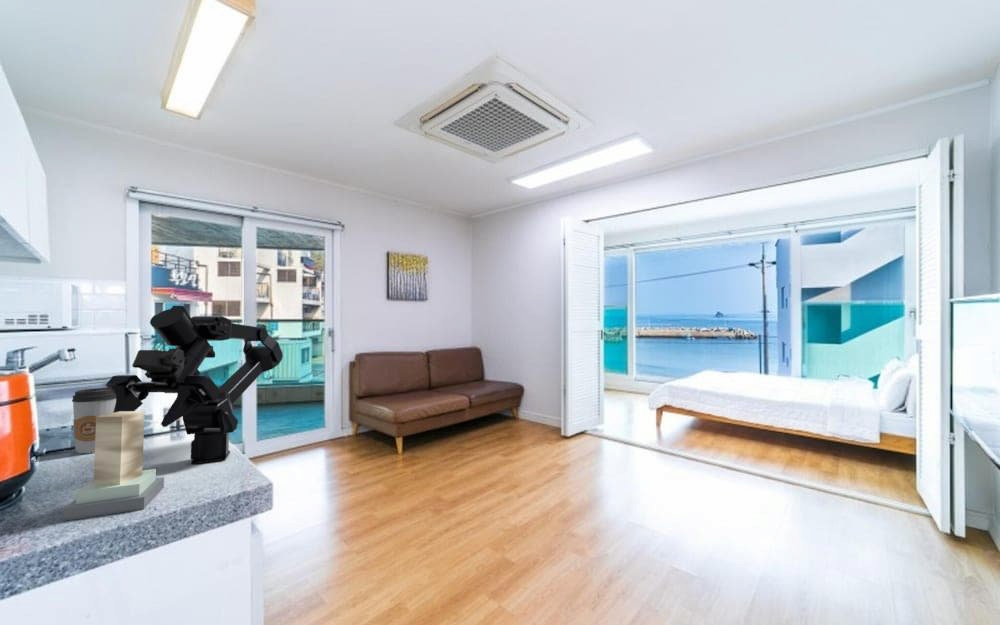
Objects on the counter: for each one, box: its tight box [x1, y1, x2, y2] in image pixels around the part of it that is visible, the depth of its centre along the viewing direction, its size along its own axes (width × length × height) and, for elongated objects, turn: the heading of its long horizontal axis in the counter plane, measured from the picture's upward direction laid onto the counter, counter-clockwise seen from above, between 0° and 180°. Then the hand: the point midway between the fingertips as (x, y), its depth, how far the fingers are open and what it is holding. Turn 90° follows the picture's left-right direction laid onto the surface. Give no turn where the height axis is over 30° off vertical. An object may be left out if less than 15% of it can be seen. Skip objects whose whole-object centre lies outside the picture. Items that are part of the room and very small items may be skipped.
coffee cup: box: [71, 387, 116, 454], centre depth 100 cm, size 8×8×15 cm
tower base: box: [63, 468, 165, 522], centre depth 70 cm, size 10×10×4 cm
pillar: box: [93, 410, 145, 485], centre depth 71 cm, size 4×4×12 cm
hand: (137, 425), depth 74 cm, fingers open, 9 cm apart
